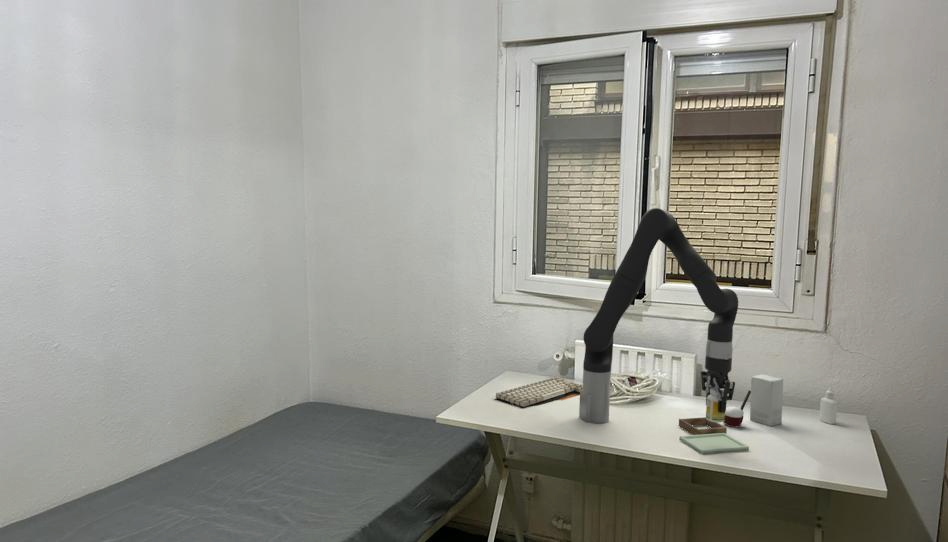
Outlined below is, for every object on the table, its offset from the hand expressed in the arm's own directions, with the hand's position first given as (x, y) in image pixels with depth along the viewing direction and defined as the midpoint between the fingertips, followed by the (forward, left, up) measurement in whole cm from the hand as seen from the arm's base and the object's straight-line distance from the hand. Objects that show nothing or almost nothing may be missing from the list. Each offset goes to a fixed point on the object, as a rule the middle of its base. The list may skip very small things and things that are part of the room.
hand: (715, 409), depth 196 cm
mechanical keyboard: (-34, +59, -12) cm, 69 cm away
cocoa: (+18, +15, -12) cm, 26 cm away
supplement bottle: (0, 0, -4) cm, 4 cm away
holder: (+4, +12, -11) cm, 17 cm away
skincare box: (+31, +16, -12) cm, 37 cm away
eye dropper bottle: (+53, +12, -12) cm, 55 cm away
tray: (0, 0, -11) cm, 11 cm away
